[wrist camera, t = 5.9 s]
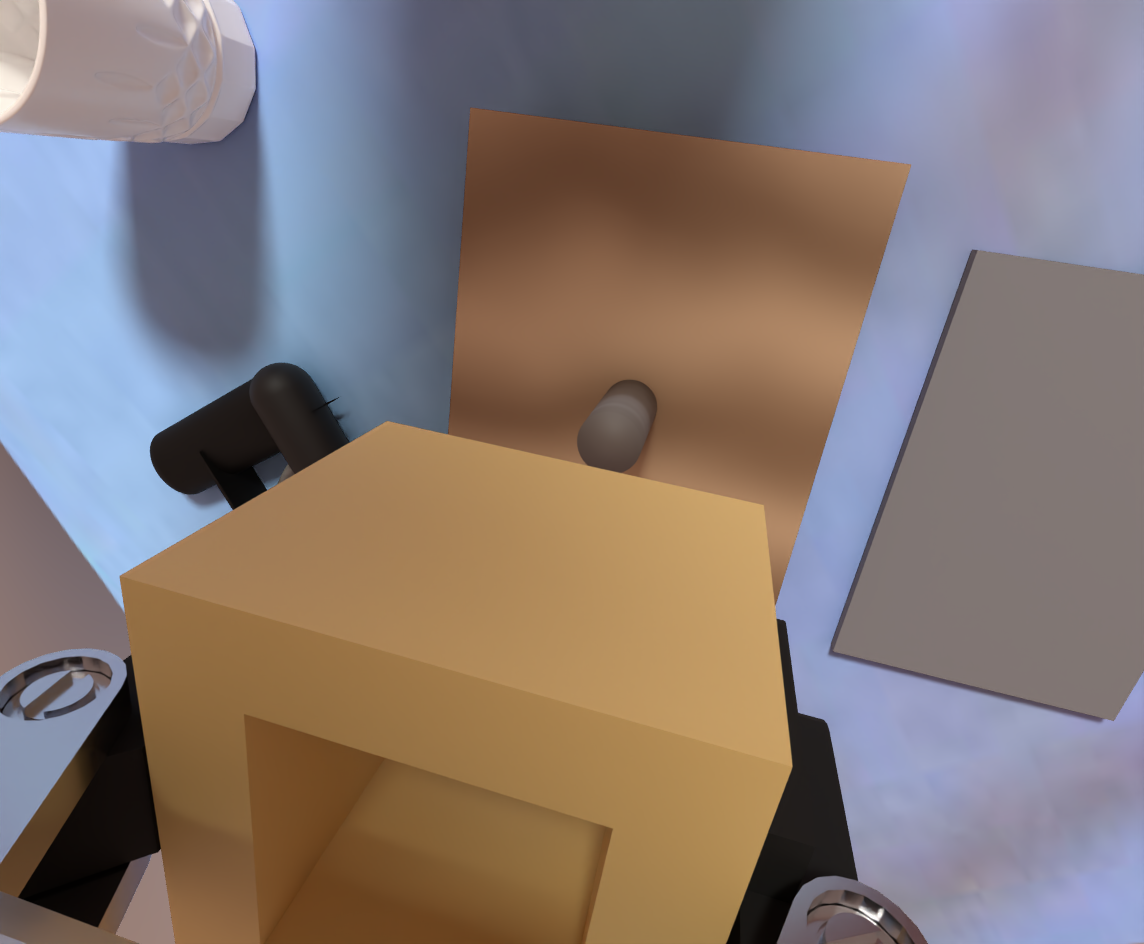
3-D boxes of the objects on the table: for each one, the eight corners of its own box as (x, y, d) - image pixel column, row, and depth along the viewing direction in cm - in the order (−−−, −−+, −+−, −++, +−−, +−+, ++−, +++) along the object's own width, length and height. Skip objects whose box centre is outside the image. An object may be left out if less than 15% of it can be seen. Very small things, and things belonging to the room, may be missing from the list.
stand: (515, 128, 26) (408, 80, 17) (876, 176, 24) (959, 148, 15) (479, 522, 33) (389, 628, 24) (756, 588, 31) (766, 730, 22)
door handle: (279, 754, 40) (491, 707, 33) (82, 469, 35) (282, 350, 29) (313, 716, 43) (514, 666, 36) (136, 448, 38) (328, 337, 32)
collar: (387, 420, 10) (119, 576, 6) (763, 505, 9) (792, 765, 5) (377, 707, 13) (180, 976, 8) (678, 797, 12) (645, 1159, 7)
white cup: (298, 125, 28) (90, 76, 19) (162, 182, 30) (-81, 163, 21) (222, -88, 26) (-57, -258, 17) (81, -8, 28) (-230, -119, 19)
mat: (971, 249, 24) (977, 250, 23) (1345, 304, 22) (1361, 306, 22) (831, 644, 31) (833, 651, 30) (1106, 711, 29) (1113, 720, 28)
